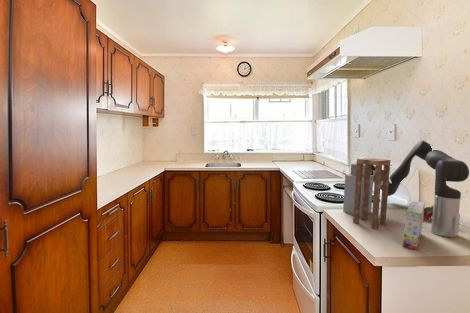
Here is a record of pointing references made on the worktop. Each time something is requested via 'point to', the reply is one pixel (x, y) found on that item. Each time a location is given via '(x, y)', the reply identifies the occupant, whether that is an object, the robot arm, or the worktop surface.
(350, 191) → the slate pedestal
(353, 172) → the metal bar
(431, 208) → the foo dog statuette
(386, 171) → the walnut stand
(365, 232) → the worktop surface
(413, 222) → the snack box
